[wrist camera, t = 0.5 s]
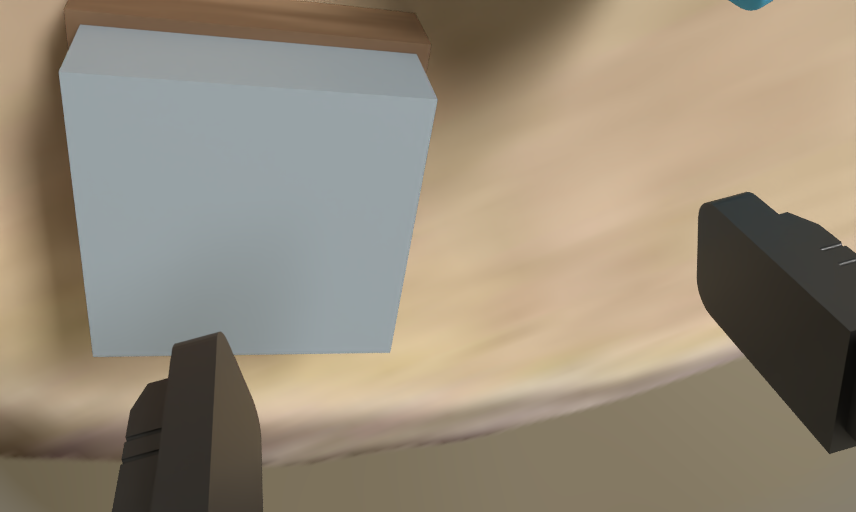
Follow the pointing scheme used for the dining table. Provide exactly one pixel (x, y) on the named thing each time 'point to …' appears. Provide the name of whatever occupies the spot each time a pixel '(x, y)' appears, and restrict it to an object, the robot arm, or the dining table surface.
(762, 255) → the robot arm
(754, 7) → the data package
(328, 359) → the dining table surface
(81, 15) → the tower base
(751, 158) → the dining table surface
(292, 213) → the tower top
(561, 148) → the dining table surface
